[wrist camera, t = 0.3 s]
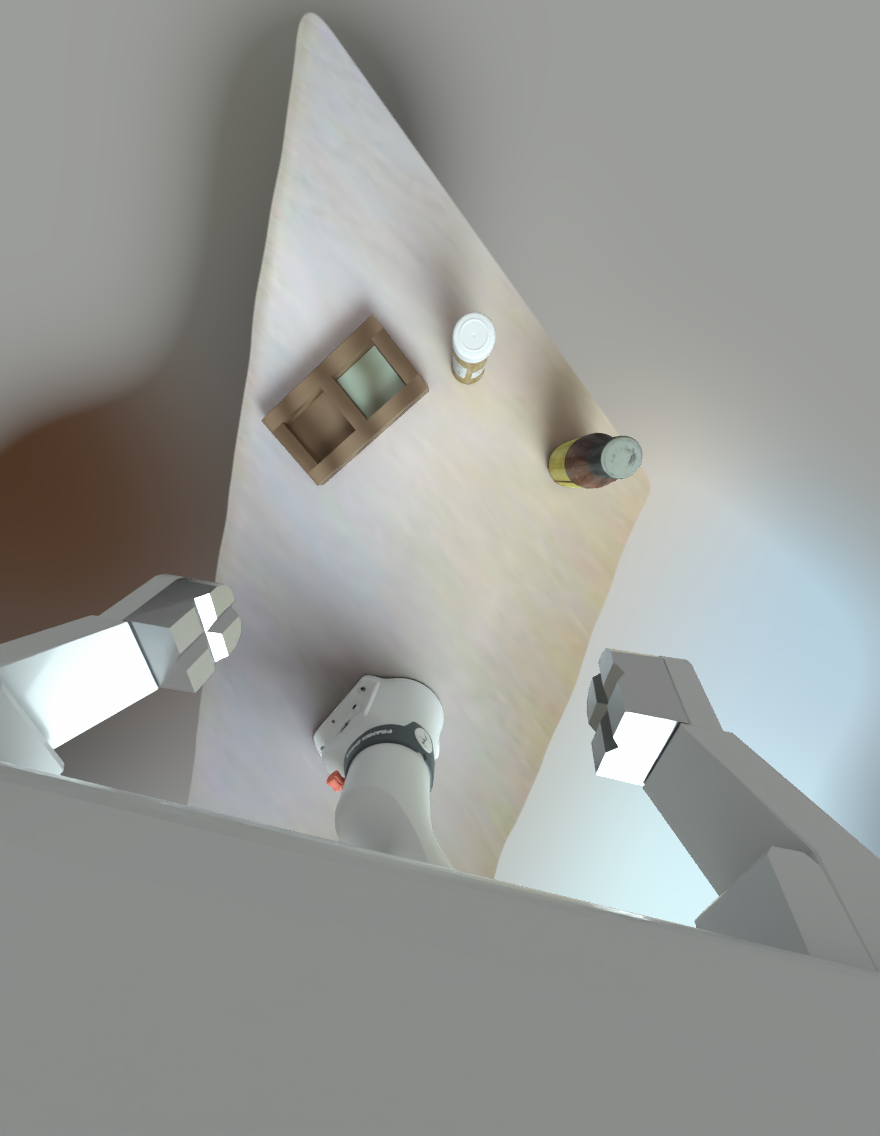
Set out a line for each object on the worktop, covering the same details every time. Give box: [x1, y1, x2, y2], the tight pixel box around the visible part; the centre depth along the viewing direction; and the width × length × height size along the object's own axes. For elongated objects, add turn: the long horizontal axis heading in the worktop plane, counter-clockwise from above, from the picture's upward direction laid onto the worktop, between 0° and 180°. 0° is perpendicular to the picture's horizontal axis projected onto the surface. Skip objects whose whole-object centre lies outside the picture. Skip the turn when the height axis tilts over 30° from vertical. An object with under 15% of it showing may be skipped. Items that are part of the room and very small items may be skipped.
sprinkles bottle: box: [452, 312, 495, 385], centre depth 49 cm, size 5×5×14 cm
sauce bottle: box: [548, 433, 642, 488], centre depth 49 cm, size 6×6×20 cm
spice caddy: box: [261, 314, 429, 485], centre depth 55 cm, size 20×11×3 cm, turn 129°
